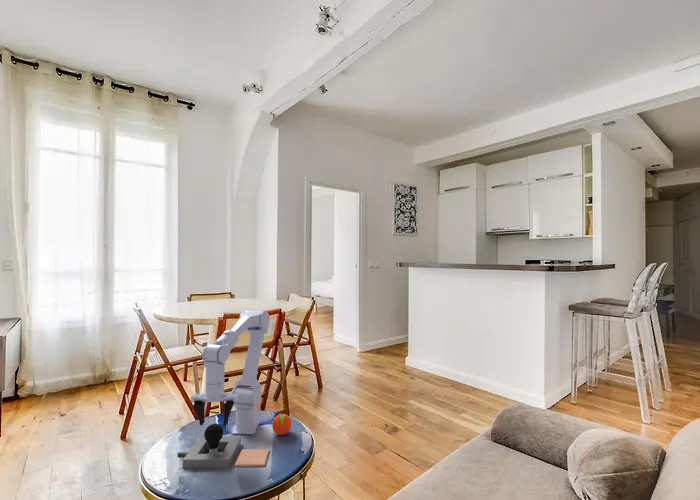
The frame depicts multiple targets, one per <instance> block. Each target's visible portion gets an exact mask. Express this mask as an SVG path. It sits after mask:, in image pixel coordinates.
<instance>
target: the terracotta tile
mask: <svg viewBox="0 0 700 500" xmlns="http://www.w3.org/2000/svg"><path fill="white" fill-rule="evenodd" d="M269 453H270V449H269V448H265V449H264V448H262V449H261V448H257V449H254V448H251V449H248V448H247V449H245V448H244V449H241V451H240V453H239V454H238V457H237V459H236V461H235V463H234V467H236V468H237V467H241V468H245V467H265V465H266V462H267V459H268V456H269Z"/></svg>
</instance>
